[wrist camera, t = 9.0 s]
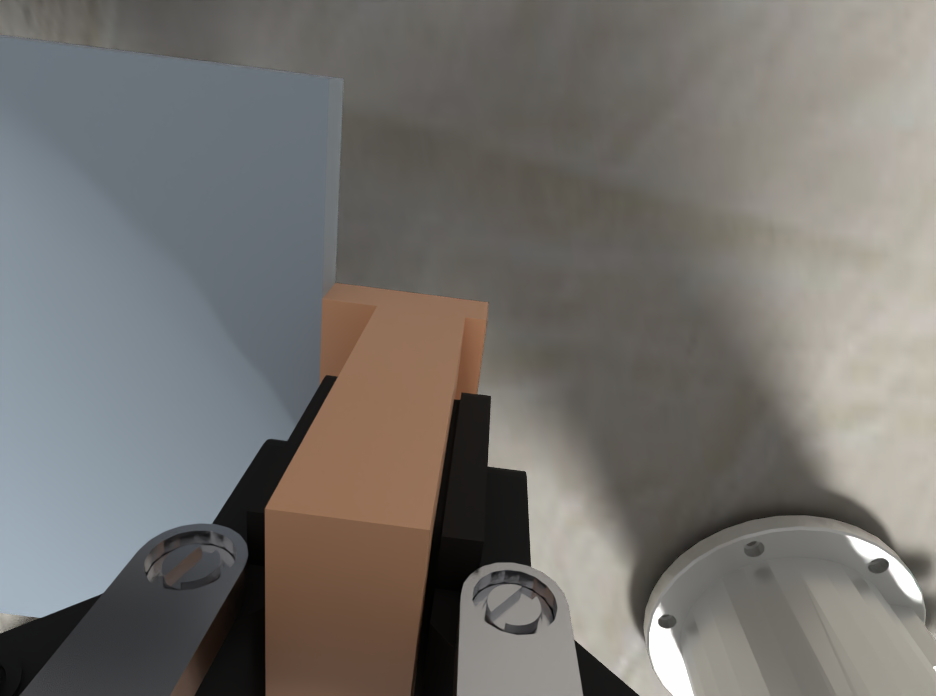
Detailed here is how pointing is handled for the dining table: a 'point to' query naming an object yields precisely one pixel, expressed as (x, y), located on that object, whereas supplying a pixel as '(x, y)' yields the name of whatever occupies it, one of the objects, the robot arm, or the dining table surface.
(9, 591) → the lid
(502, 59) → the dining table surface
